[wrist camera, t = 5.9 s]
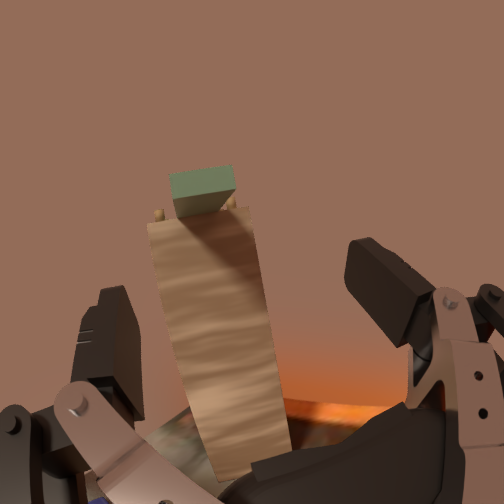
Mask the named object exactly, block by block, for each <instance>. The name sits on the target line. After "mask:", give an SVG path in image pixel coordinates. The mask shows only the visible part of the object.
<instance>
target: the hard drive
mask: <svg viewBox="0 0 504 504" xmlns="http://www.w3.org/2000/svg"><path fill="white" fill-rule="evenodd" d="M88 504H109V503H108V502H107V501H106V499H105V498H104V497H100V498H97V499H95V500H93V501H90V502H88Z"/></svg>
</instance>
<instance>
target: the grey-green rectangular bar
mask: <svg viewBox="0 0 504 504" xmlns="http://www.w3.org/2000/svg"><path fill="white" fill-rule="evenodd" d="M169 177H170V183H171V191H172V197H173V202H174V207H175V211H176V215H177V218H182V217H188V216H193V215H199V214H205V213H211V212H217V211H219V210H220V209H221V207H222V206H223V205H224V204H225V202H226V201H227V200H228V199H229V197H230V196H231V195H232V193H233V192H234V191H235V190H236V184H235V179H234V173H233V168H232V165H228V166H220V167H213V168H206V169H199V170H192V171H187V172H180V173H175V174H169Z"/></svg>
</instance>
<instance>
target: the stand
mask: <svg viewBox="0 0 504 504" xmlns="http://www.w3.org/2000/svg"><path fill="white" fill-rule="evenodd" d="M226 205H227V210H223V209H221V210H219V211H217V212H211V213H205V214H199V215H193V216H188V217H182V218H177V219H171V220H169V219H165V216H164V209H158V210H155V211H154V213H155V219H156V222H155V223H151V224H147V229H148V235H149V241H150V247H151V252H152V258H153V263H154V268H155V273H156V279H157V284H158V288H159V293H160V298H161V302H162V306H163V311H164V315H165V319H166V323H167V327H168V331H169V335H170V339H171V343H172V347H173V350H174V354H175V358H176V361H177V365H178V368H179V372H180V375H181V379H182V382H183V385H184V388H185V392H186V395H187V398H188V401H189V404H190V407H191V410H192V413H193V416H194V419H195V422H196V425H197V428H198V430H199V433H200V436H201V439H202V441H203V444H204V447H205V449H206V452H207V455H208V457H209V460H210V462H211V465H212V467H213V470H214V472H215V475H216V477H217V479H218V482H223V481H228V480H232V479H237V478H240V477H242V476H243V475H245V474H247V473H249V472H251V471H252V469H251V464H250V463H252V462H256V461H260V460H263V459H267V458H270V457H274V456H277V455H280V454H284V453H287V452H290V451H292V447H291V441H290V435H289V429H288V424H287V418H286V412H285V406H284V401H283V396H282V389H281V384H280V378H279V372H278V367H277V361H276V355H275V350H274V344H273V338H272V333H271V327H270V322H269V317H268V311H267V306H266V300H265V295H264V289H263V283H262V277H261V272H260V266H259V261H258V255H257V250H256V244H255V239H254V233H253V228H252V222H251V217H250V212H249V207H241V208H237V207H236V202H235V197H229V199H228V200H227V201H226Z"/></svg>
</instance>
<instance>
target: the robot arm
mask: <svg viewBox="0 0 504 504" xmlns="http://www.w3.org/2000/svg"><path fill="white" fill-rule="evenodd" d="M344 280H345V284H346V287H347V289H348V291H349V292H350V293H351V294H352V295H353V297H354V298H355V299H356V300H357V301H358V302H359V304H360V305H361V306H362V307H363V308H364V309H365V311H366V312H367V313H368V314H369V315H370V316H371V318H372V319H373V320H374V321H375V322H376V324H377V325H378V326H379V327H380V328H381V330H383V332H384V333H385V334H386V336H387V337H388V338H389V339H390V340H391V342H392V343H393V344H394V345H395V347H396V348H398V347H401V346H403V345H405V344H407V343H409V344H410V345H411V346H410V349H409V351H408V393H407V398H406V401H405V404H404V403H403V402H401V403H399V404H397V405H396V406H394V407H392V408H390V409H388V410H386V411H384V412H382V413H381V414H379V415H377V416H375V417H373V418H371V419H370V420H369V421H368V422H367V423H365V424H364V425H363V426H362V427H361V428H359V429H358V430H357V431H356V432H354V433H353V434H352V435H351V436H349V437H348V438H347V439H346V440H344V441H343V442H341V443H339V444H336V445H330V446H323V447H316V448H309V449H300V450H293V451H290V452H287V453H284V454H280V455H277V456H274V457H270V458H267V459H263V460H260V461H256V462H252V463H250V464H251V469H252V471H251V472H249V473H247V474H245V475H243V476H242V477H240V478H239V479H237V480H236V481H234V482H233V483H232V484H231V485H229V486H228V487H227V488H226V489H225V490H224V491H223V492H222V493H221V494H220V496H219V497H218V498H217V499H216V498H215V497H214V496H212V495H211V494H209V493H208V492H207V491H205V490H204V489H202V488H201V487H200V486H198V485H197V484H196V483H194V482H193V481H192V480H191V479H189V478H188V477H187V476H185V475H184V474H183V473H182V472H181V471H179V470H178V469H177V468H176V467H174V466H173V465H172V464H171V463H170V462H169V461H167V460H166V459H165V458H164V457H163V456H162V455H161V454H159V453H158V452H157V451H156V450H155V449H154V448H153V447H152V446H151V445H150V444H149V443H147V442H146V441H145V440H144V439H142V438H141V437H140V436H139V435H138V434H137V433H136V432H135V427H134V421H143V420H145V417H144V405H143V392H142V371H141V336H140V329H139V325H138V321H137V319H136V316H135V313H134V311H133V308H132V306H131V303H130V300H129V298H128V295H127V292H126V290H125V288H124V286H123V285H121V286H115V287H110V288H105V289H101V291H100V295H99V300H98V305H97V306H92V307H90V308H89V309H88V310H87V312H86V314H85V315H84V316H83V318H82V321H81V325H80V333H79V335H78V340H77V342H78V344H77V345H76V351H75V356H74V362H73V369H72V376H71V382H70V384H68V385H66V386H65V387H63V388H62V389H61V390H60V391H59V393H58V394H57V396H56V398H55V401H54V405H53V406H50V407H48V408H45V409H43V410H40V411H37V412H34V413H32V414H30V413H29V412H28V411H27V410H26V409H25V408H24V407H22V406H21V405H10V406H8V407H6V408H5V409H3V411H2V412H1V413H0V504H88V500H87V493H86V486H85V478H84V472H85V471H88V470H90V469H92V470H93V471H94V472H95V474H96V475H97V477H98V479H97V480H96V481H97V483H98V485H99V487H100V488H101V490H102V491H103V492H104V493H105V494H106V496H107V497H108V498H109V499H110V500H111V501H112V502H113V503H114V504H504V361H503V360H502V359H501V358H500V356H499V355H498V354H497V353H496V352H495V350H494V349H493V347H492V345H491V344H490V343H488V342H487V341H488V340H489V338H490V336H491V334H492V333H493V331H494V329H496V330H497V331H498V332H499V333H500V334H501V335H502V336H503V337H504V292H503V291H502V290H501V289H500V288H498V287H497V286H494V285H492V284H484V285H482V286H481V287H480V289H479V291H478V293H477V296H476V297H468V298H465V297H464V295H462V294H461V293H460V292H458V291H457V290H454V289H452V288H448V287H441V288H438V289H436V288H435V287H434V286H433V285H432V284H430V283H429V282H428V281H427V280H426V279H425V278H424V277H422V276H421V275H420V274H419V273H418V272H417V271H415V270H414V269H413V268H411V266H410V265H409V264H407V263H406V262H404V261H403V259H401V258H400V257H399V256H398V255H396V254H395V253H394V252H391V251H389V250H387V249H385V248H384V247H382V246H381V245H380V244H379V243H377V242H376V241H375V240H374V239H372V238H370V237H367V238H363V239H358V240H353V241H351V242H350V244H349V248H348V255H347V261H346V268H345V275H344Z"/></svg>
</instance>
